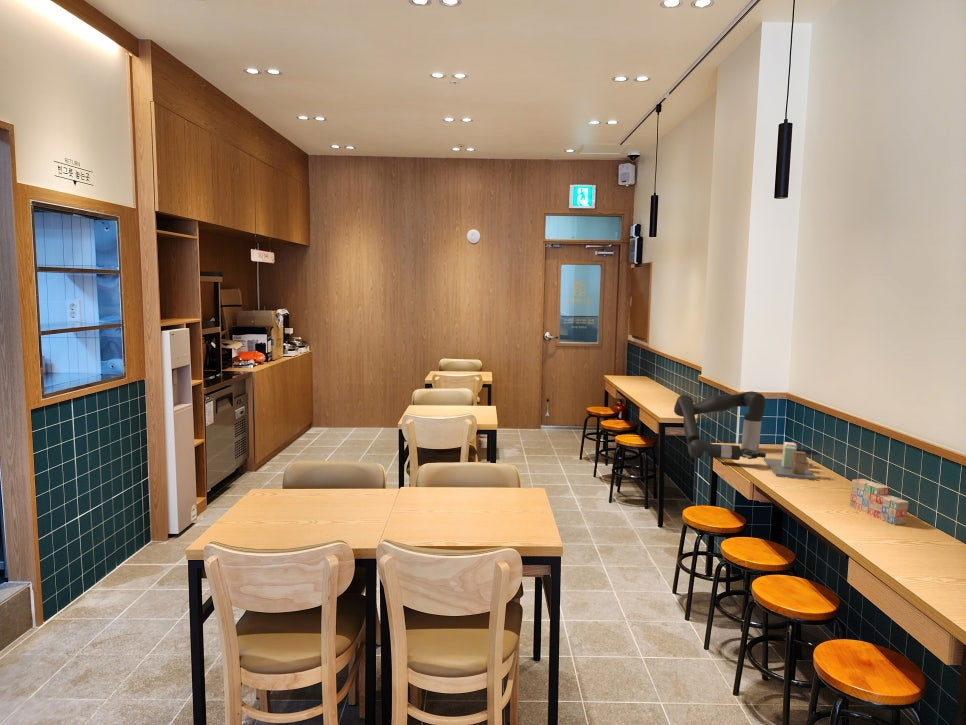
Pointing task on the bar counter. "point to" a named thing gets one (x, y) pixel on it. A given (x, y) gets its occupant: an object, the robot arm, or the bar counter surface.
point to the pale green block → (787, 456)
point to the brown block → (799, 462)
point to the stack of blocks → (877, 501)
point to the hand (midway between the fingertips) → (765, 455)
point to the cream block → (790, 444)
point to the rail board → (786, 470)
